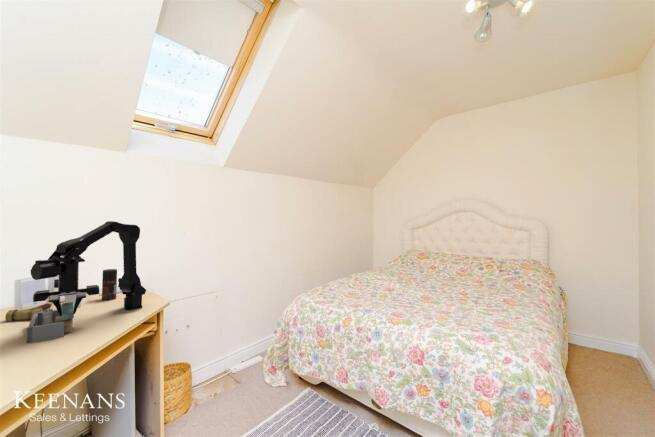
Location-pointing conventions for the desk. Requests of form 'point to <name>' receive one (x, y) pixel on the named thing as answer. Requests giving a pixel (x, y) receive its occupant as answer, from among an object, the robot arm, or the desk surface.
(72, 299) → the eye dropper bottle
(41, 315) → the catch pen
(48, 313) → the rook chess piece
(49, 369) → the desk surface
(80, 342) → the desk surface
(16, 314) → the gavel
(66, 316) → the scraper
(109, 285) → the deodorant
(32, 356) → the desk surface
